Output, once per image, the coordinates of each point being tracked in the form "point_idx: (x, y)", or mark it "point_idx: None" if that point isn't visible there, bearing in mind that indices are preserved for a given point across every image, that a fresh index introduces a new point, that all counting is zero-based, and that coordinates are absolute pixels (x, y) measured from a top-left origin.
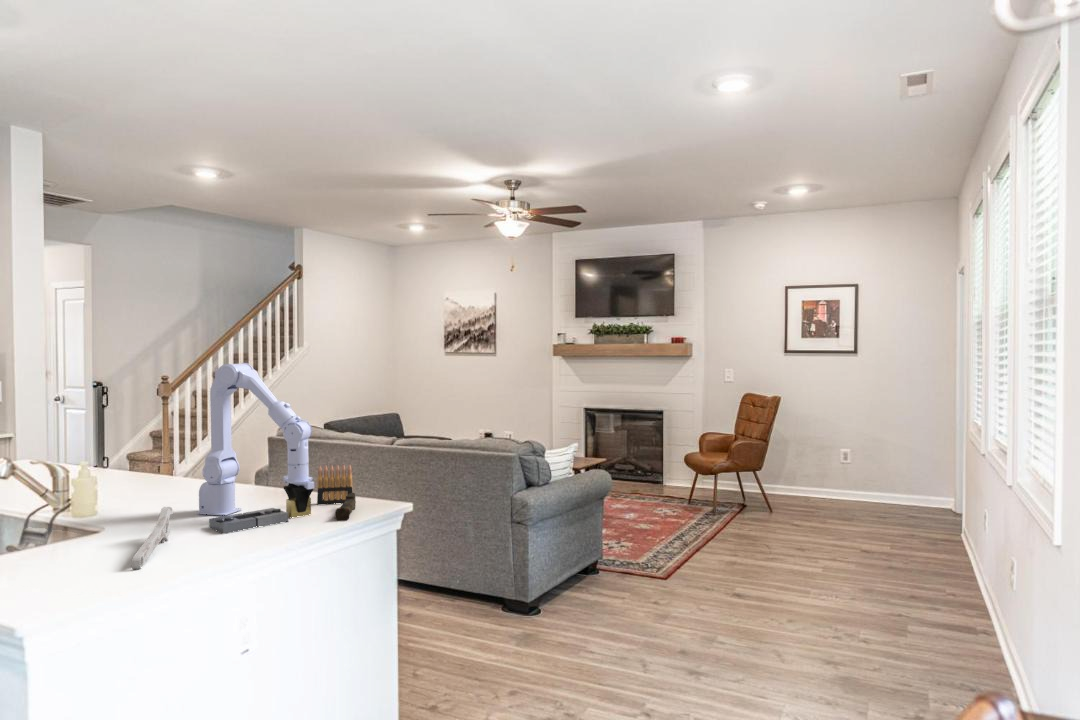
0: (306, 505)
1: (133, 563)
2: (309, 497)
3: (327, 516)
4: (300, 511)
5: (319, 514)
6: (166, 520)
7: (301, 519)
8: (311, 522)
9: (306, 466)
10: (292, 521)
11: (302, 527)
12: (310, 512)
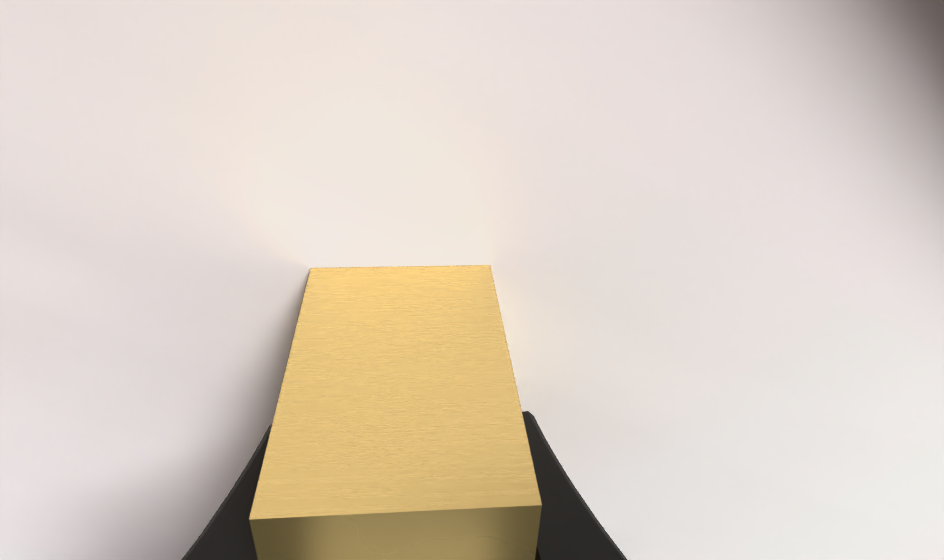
0: (566, 484)
1: None
2: (485, 512)
3: (815, 132)
4: None
5: (570, 151)
6: None
7: (621, 449)
8: (859, 434)
9: None
10: (617, 537)
11: (922, 555)
12: (492, 295)
